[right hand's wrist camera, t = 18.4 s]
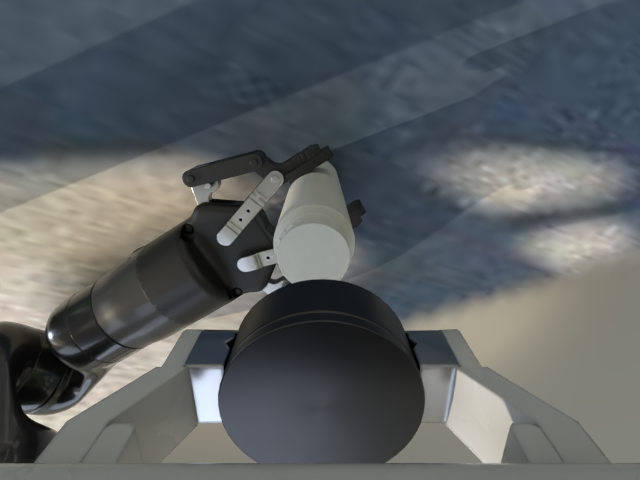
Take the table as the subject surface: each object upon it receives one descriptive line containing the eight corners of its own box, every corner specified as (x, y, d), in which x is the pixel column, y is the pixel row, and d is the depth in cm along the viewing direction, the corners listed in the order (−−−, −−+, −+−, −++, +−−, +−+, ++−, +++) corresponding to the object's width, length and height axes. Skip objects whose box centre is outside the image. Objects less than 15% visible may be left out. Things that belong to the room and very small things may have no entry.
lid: (417, 402, 11) (436, 462, 9) (263, 429, 11) (252, 493, 10) (392, 260, 9) (410, 300, 7) (211, 298, 10) (186, 345, 8)
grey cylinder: (285, 171, 34) (251, 240, 17) (325, 149, 33) (333, 198, 16) (306, 209, 35) (296, 310, 18) (345, 189, 34) (373, 274, 17)
